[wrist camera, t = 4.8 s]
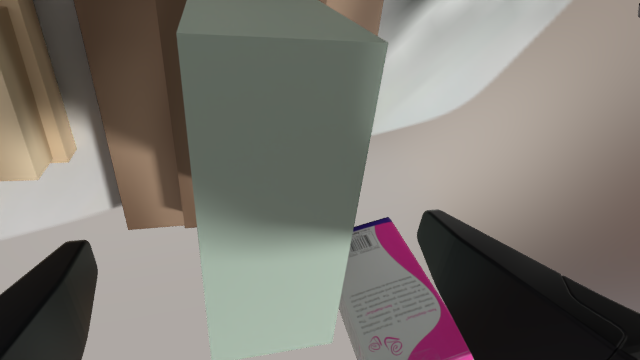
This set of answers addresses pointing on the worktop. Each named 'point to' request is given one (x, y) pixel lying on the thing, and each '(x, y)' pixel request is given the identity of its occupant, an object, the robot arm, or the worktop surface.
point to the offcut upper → (18, 114)
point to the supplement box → (394, 301)
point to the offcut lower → (42, 78)
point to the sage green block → (275, 163)
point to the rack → (154, 100)
